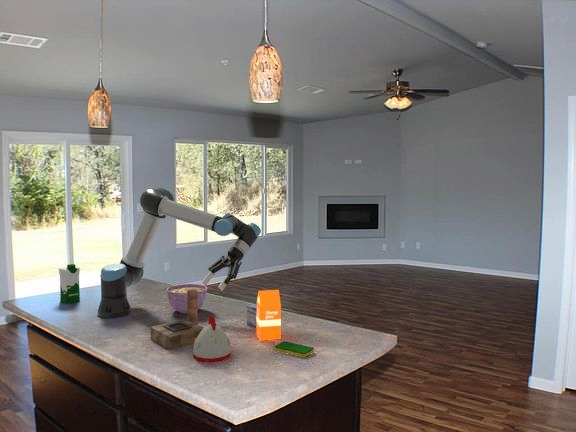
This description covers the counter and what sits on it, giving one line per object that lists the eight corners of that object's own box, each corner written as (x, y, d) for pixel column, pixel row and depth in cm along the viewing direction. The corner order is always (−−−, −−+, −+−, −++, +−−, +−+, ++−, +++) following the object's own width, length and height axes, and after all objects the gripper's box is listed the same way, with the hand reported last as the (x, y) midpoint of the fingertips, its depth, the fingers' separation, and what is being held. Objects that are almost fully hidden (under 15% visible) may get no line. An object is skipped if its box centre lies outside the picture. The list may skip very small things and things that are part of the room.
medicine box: (246, 324, 215) (246, 305, 214) (253, 322, 218) (253, 304, 217) (258, 328, 209) (258, 309, 209) (265, 326, 213) (265, 307, 212)
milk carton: (66, 304, 245) (65, 266, 243) (57, 301, 250) (56, 264, 249) (82, 301, 252) (81, 264, 251) (73, 298, 257) (72, 262, 256)
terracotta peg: (185, 325, 212) (185, 290, 211) (194, 323, 215) (194, 289, 214) (190, 327, 209) (190, 292, 208) (199, 325, 212) (199, 290, 211)
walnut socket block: (150, 338, 195) (150, 325, 194) (185, 330, 205) (185, 318, 205) (169, 349, 183) (169, 335, 182) (205, 340, 193) (205, 326, 193)
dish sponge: (283, 346, 188) (283, 340, 188) (314, 353, 181) (314, 347, 181) (273, 351, 182) (273, 345, 182) (304, 359, 175) (304, 353, 175)
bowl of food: (204, 304, 248) (204, 282, 247) (210, 315, 229) (210, 291, 228) (165, 307, 241) (164, 285, 241) (168, 318, 223) (167, 294, 222)
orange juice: (256, 335, 200) (256, 288, 199) (276, 333, 203) (276, 287, 201) (259, 341, 193) (260, 293, 191) (280, 339, 195) (281, 291, 193)
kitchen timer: (197, 365, 168) (197, 323, 167) (189, 352, 180) (189, 313, 179) (235, 359, 173) (235, 319, 172) (225, 347, 186) (224, 309, 185)
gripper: (258, 259, 219) (232, 296, 210) (227, 252, 237) (202, 286, 229) (249, 248, 215) (222, 286, 206) (218, 243, 233) (192, 277, 225)
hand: (211, 286), depth 217 cm, fingers open, 13 cm apart
